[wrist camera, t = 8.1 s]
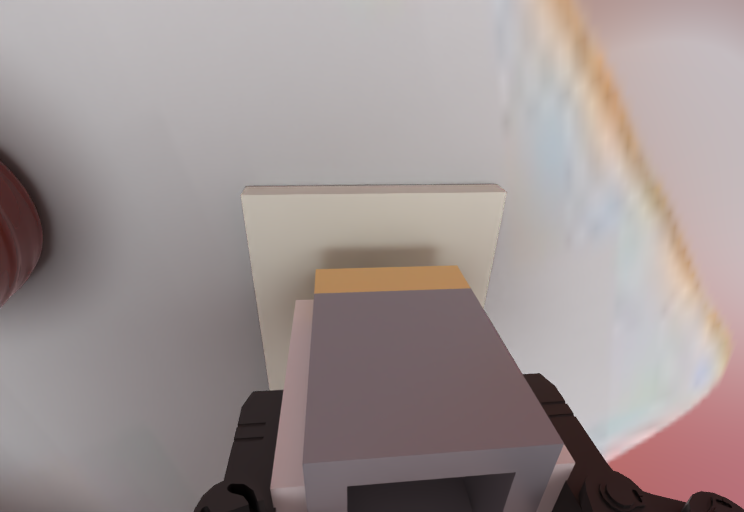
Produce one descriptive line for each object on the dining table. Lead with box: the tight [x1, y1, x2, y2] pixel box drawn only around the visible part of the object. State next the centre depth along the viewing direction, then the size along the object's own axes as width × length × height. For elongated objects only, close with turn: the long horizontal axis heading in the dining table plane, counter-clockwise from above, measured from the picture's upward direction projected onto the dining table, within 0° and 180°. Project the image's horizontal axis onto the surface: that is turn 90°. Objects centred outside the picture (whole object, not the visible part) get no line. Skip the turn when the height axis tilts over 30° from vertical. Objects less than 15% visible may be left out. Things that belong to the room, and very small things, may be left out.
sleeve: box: [302, 265, 564, 512], centre depth 11 cm, size 5×5×7 cm
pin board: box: [241, 184, 507, 390], centre depth 16 cm, size 10×18×6 cm, turn 179°
